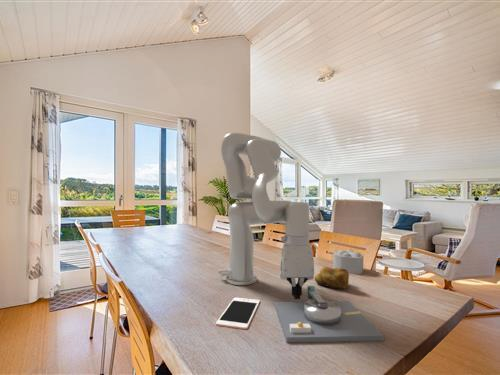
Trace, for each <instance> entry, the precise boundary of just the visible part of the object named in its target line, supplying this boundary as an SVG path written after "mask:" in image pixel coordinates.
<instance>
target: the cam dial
mask: <svg viewBox="0 0 500 375" xmlns="http://www.w3.org/2000/svg"><path fill="white" fill-rule="evenodd" d="M306 290H307V292H306V294H307V296H306V297H307V299H308V300H307V301H304V302H305V304H304V316H305V317H306V318H307V319H308V320H309V321H311V322H314V323H317V324H321V325H334V324H337V323H339V322H340V321H341V307H340V306H339V305H338V304H336V303H334V302H331V300H327V299H323V298H322V296H321V295H320V294H319V292H318V291H317V290H316V286H314V285H307V289H306Z"/></svg>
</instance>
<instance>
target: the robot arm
mask: <svg viewBox="0 0 500 375" xmlns="http://www.w3.org/2000/svg"><path fill="white" fill-rule="evenodd" d="M220 154H221V157H222V160H223V164H224V167H225V173H226V174H225V175H226V180H227V188H228V189H227V190H228V194H229V196H230V198H232V199H234V200H249V201H237V202H234V203H232V204H231V205H230V207H229V208H228V211H227V218H228V224H229V235H230V237H229V240H230V241H229V242H230V243H229V267H228V268H227V269H218V275H221V277H225V276H226V277H225V280H226V283H228V284H230V285H234V286H235V285H236V286H249V285H251V284H255V283H256V282H257V281H258V277H257V275H256V274H254V247H255V246H254V242H255V241H254V233H253V231H252V229H251V227H250V226H252V225H253V226H255V225H261V224H278V223H285V225H284V227H285V228H284V229H285V234H284V235H283V236H280V242H284V243H283V246H282V248H281V249H282V250H281V256H280V257H281V258H280V276H279V278H280V279H281V280H282V281H287V282H288V283H289V284H290V285H291V295H292V296H293V297H294V300H301V296H303V286H304V285H305V284H306V282H308V281H311V280H315V260H314V252H313V246H312V244H310V206H309V204H308V202H304V201H289V200H270V198H269V194H268V192H267V185H268V183H270V182H272V181H273V180H275V179H276V178H277V177H278V175H279V171H278V168H277V165H276V162H278V160H279V159H280V158H281V155H282V151H281V147H280V145H279V144H278V143H277V142H276V141H274V140H271V139H267V138H264V137H260V136H258V135H257V136H256V135H252V134H246V133H242V132H229V133H226V134H225V136H224V137H223V138H222V141H221V147H220ZM240 155H246V156H247V157H248V159H249V160H248V161H249V163H250V165H251V166H250V167H251V169H252V172H253V175H254V177H251V176H249V175H248V173H247V166H246V163H245V162H244V160H243V159H242V157H241V156H240ZM296 279H297V282H296Z"/></svg>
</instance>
